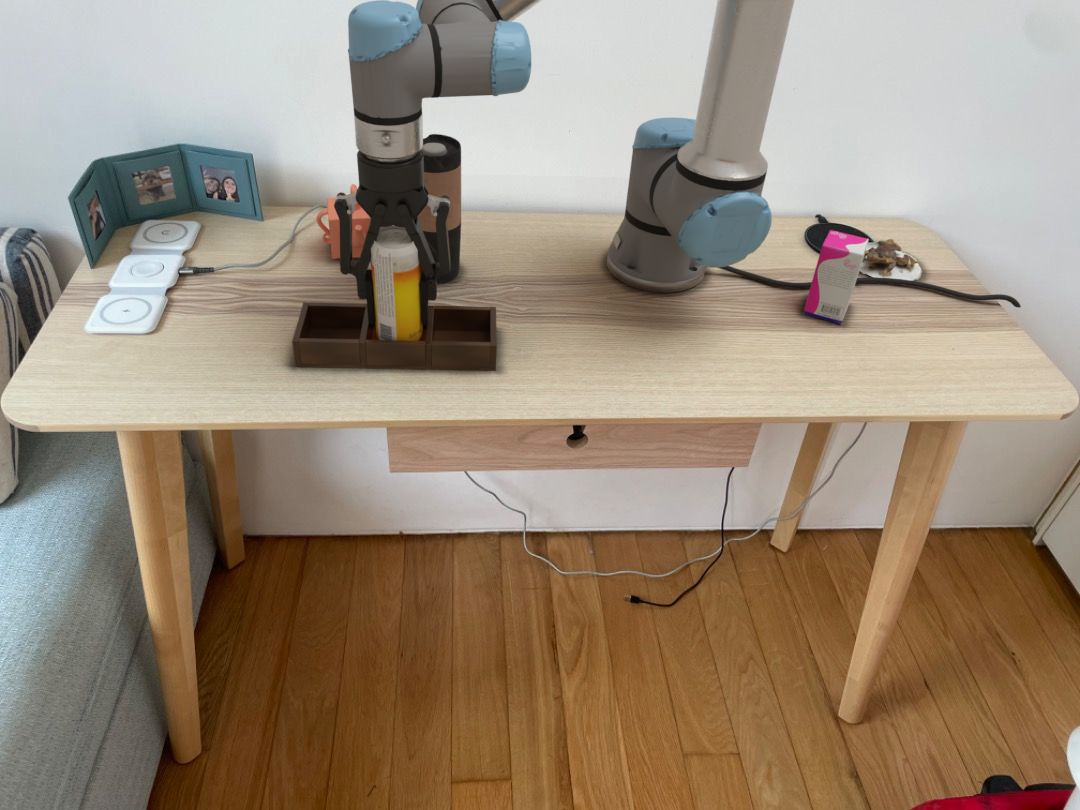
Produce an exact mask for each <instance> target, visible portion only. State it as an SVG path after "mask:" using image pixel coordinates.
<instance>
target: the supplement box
mask: <svg viewBox="0 0 1080 810" xmlns="http://www.w3.org/2000/svg"><path fill="white" fill-rule="evenodd" d="M827 233H828V234H827V235H826V238H825V239H824V241H823V244H822V245H821V249H820V251H819V255H818V259H817V262H816V266H815V270H814V273H813V277H812V280H811V282H812V284H811V287H810V288H809V291H808V294H807V298H806V301H805V306H804V309H803V315H804V316H805V315H806V316H809V317H813V318H817V319H820V320H824V321H828V322H831V323H835V324H838V325H842V323H843V322H844V319H845V316H846V315H847V311H848V309H849V305H850V302H851V299H852V296H853V292H854V290H855V286H856V284H857V283H856V280H857V278H859V277H858V276H859V273H860V271H859V270H860V267H861V264H862V261H863V257H864V254H865V251H866V247H867V244H868V243H869V240H870V239H869V238H866V237H861V236H857V235H854V234H849V233H845V232H842V231H841V232H840V231H836V230H832V229H829V231H828V232H827Z"/></svg>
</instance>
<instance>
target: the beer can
mask: <svg viewBox="0 0 1080 810" xmlns="http://www.w3.org/2000/svg"><path fill="white" fill-rule="evenodd" d="M370 266H371V269H370V270H372V282H373V296H374V310H375V324H376V335H377V337H378V339H379V340H402V341H418V340H419V339H420V338H421V337H422V334H423V325H422V316H421V286H420V281H421V264H420V261H419V259H418V250H417V248H416V246H415V245H414V241H413V242H412V241H411V239H410V236H409V235H408V234H407V231H406V229H405V227H397V226H388V227H383V228H380V230H379V233H378V236H377V239H376V241H375V240H374V244H373V246H372V248H371V259H370Z"/></svg>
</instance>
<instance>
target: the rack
mask: <svg viewBox="0 0 1080 810" xmlns="http://www.w3.org/2000/svg"><path fill="white" fill-rule="evenodd" d="M428 308H429V316H428V325H423V334H422V337H421V338H420V339H419V340H418V341H402V340H379V339H378V337H377V335H376V324H368V311H367V303H357V302H356V303H355V302H353V303H352V302H348V303H347V302H313V301H312V302H307V301H306V302H305V301H303V302H302V306H301V309H300V312H299V315H298V320H297V323H296V325H295V326H296V327H295V330H294V334H293V337H292V341H291V344H292V351H293V358H294V366H295V368H332V369H333V368H336V369H338V368H339V369H384V370H386V369H387V370H388V369H389V370H432V371H433V370H437V371H439V370H442V371H485V372H486V371H491V372H492V371H495V372H496V371H497V352H498V351H497V349H498V338H497V335H498V333H497V332H498V331H497V306H477V305H476V306H471V305H469V306H468V305H431V304H430V305H429V304H428Z"/></svg>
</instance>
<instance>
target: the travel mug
mask: <svg viewBox="0 0 1080 810" xmlns="http://www.w3.org/2000/svg"><path fill="white" fill-rule="evenodd" d="M421 150H422V152H423V161H424V185H425V188H426V189H427V191H428V193H429V195H432V196H436V197H439V198H441V196H443V195H447V196H448V197H449V198H450V207H449V213H448V216H447V228H448V239H449V250H450V261H451V266H450V275H449V276H447V277H444V276H440V277H438V278H437V284H444V283H449V282H451V281H453V280H455V279H456V278H457V277H458V276H459V274H460V261H461V238H462V236H461V235H462V144H461V143H460V141H459V140H458V139H456V138H455V137H452V136H449V135H447V134H446V135H445V134H440V133H439V134H438V133H430V134H429V135H428V136H426V137H423V147H422V149H421ZM418 218H419V221H420V225H421V228H422V230H423V233H424V236H425V238H426V241H427V243H428V246H429V248H430V251H431V254H432V256H433V259H434V261H435V263H438V262H439V254H438V244H437V234H436V217H435V216H433V215H432V214H431V209H430V207H429V206H427V205H426V206H425V208H424V209H423V210H422V212H421V213H420V214H419V215H418ZM421 271H423V269H422V266H421Z"/></svg>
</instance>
